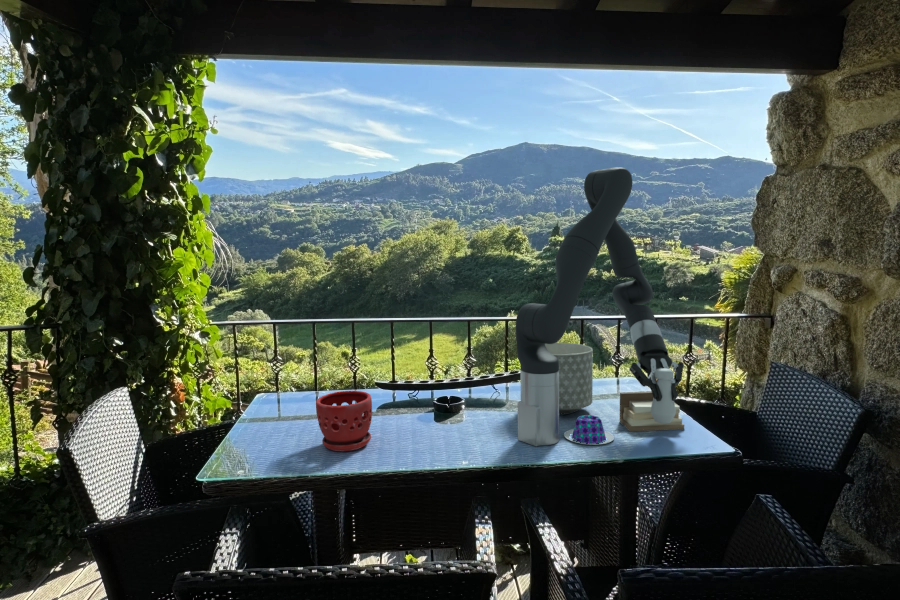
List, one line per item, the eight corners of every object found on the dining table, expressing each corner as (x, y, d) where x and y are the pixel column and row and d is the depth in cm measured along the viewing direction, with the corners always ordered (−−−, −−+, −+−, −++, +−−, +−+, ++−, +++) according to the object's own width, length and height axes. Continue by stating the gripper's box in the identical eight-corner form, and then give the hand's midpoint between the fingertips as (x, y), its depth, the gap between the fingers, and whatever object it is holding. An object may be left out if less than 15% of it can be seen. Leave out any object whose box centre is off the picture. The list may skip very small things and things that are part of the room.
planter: (595, 421, 148) (596, 354, 146) (524, 419, 151) (523, 354, 149) (589, 402, 166) (589, 342, 165) (525, 400, 169) (525, 342, 168)
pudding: (602, 429, 142) (602, 409, 142) (622, 445, 131) (623, 424, 130) (557, 432, 141) (557, 412, 140) (574, 449, 129) (573, 427, 128)
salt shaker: (679, 424, 133) (680, 371, 132) (655, 424, 133) (656, 371, 132) (669, 417, 139) (671, 366, 138) (647, 417, 139) (648, 366, 138)
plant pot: (330, 435, 141) (328, 389, 140) (379, 437, 139) (378, 390, 137) (308, 454, 128) (306, 403, 127) (363, 456, 126) (361, 405, 125)
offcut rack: (684, 429, 140) (685, 398, 139) (630, 431, 140) (630, 400, 139) (671, 420, 148) (671, 390, 147) (619, 421, 147) (619, 392, 147)
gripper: (625, 333, 141) (643, 392, 130) (679, 332, 142) (701, 391, 131) (617, 350, 147) (634, 407, 136) (669, 349, 148) (690, 406, 137)
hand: (667, 399), depth 133 cm, fingers closed on salt shaker, 3 cm apart
